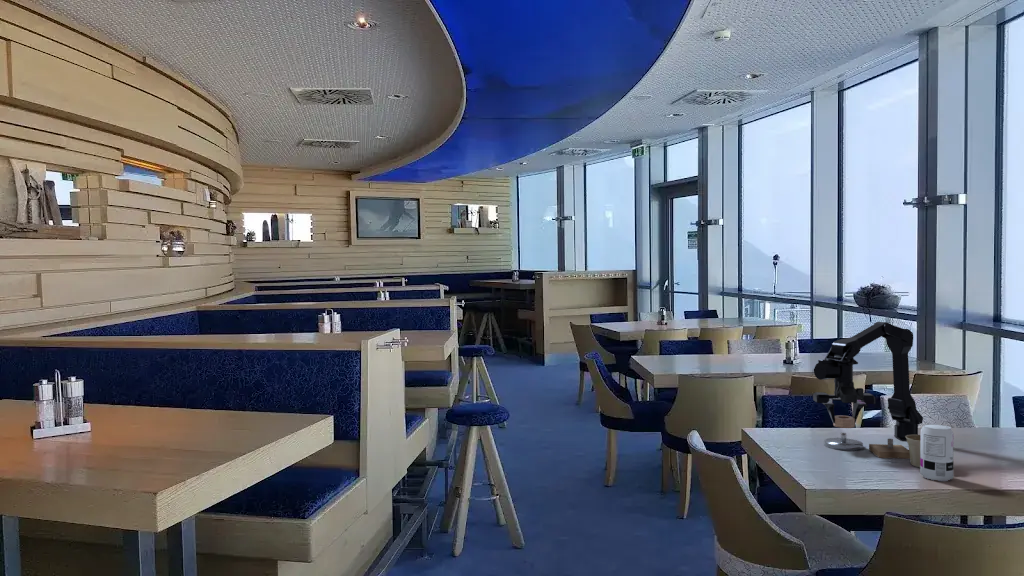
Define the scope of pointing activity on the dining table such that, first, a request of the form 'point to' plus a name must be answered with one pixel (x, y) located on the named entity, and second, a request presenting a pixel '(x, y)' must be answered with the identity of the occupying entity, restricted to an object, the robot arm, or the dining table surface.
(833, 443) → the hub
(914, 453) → the flower pot
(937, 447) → the supplement can
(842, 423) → the octagonal wooden ring
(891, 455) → the stand
